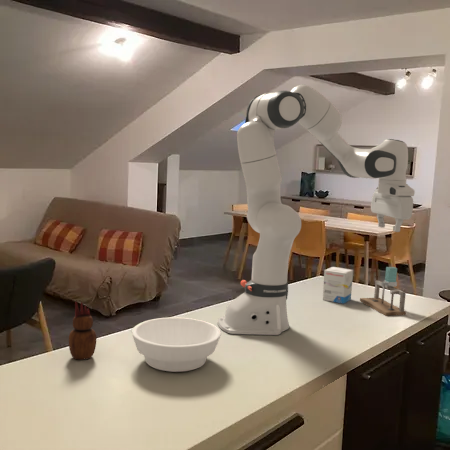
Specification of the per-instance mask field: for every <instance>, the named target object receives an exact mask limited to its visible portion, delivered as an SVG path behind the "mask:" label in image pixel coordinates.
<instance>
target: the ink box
mask: <svg viewBox="0 0 450 450" xmlns="http://www.w3.org/2000/svg"><path fill="white" fill-rule="evenodd" d="M323 272H324V273H323V285H322V286H323V288H322V289H323V290H322V300H323V301H328V302H332V303H337V304H338V303H339V304H343V305H345V304H347V302H350V301H351V300H352V292H353V291H352V289H353V277H354V269H349V268H343V267H338V266H337V267H336V266H331V267H329V268H327V269H324V270H323Z"/></svg>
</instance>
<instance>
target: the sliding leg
mask: <svg viewBox="0 0 450 450" xmlns="http://www.w3.org/2000/svg"><path fill="white" fill-rule="evenodd" d="M397 274H398V268H397V267H395V266H386V267H385V276H384V280H383V281H381V282H382V285H383V287H382V292H381V299H382V302H381V304H383V302H384V300H385V289H386V288H385V285H386V286H388V287H397V286H398V281H397V277H398V276H397Z"/></svg>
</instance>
